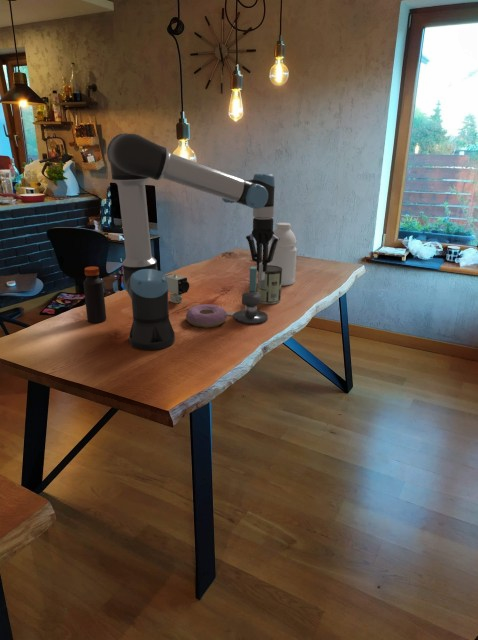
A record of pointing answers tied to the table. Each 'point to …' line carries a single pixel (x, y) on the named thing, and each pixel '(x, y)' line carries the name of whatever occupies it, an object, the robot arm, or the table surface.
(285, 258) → the bottle
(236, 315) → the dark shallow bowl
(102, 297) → the bottle
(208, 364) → the table surface
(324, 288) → the table surface
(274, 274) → the coffee can
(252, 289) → the teal grey l-shaped block
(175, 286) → the security camera
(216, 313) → the donut
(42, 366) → the table surface
